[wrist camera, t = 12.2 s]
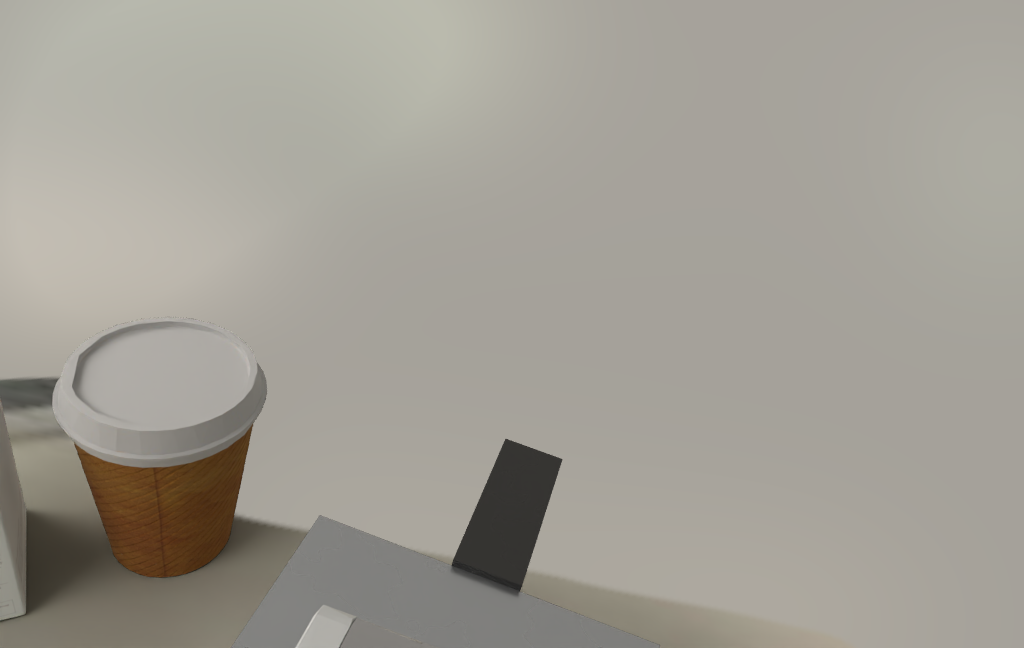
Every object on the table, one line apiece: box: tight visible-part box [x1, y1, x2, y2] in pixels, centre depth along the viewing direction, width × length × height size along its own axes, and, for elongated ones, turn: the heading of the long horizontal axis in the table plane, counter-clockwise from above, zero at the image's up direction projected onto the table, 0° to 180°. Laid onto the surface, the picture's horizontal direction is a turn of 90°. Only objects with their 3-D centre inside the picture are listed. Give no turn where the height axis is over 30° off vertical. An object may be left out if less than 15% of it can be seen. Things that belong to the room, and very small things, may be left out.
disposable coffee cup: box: [52, 317, 267, 577], centre depth 39 cm, size 10×10×12 cm
